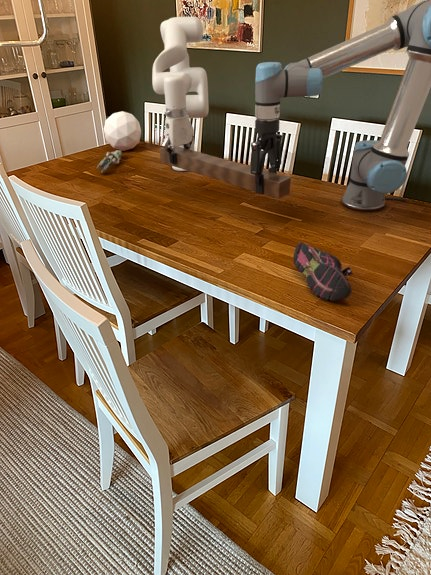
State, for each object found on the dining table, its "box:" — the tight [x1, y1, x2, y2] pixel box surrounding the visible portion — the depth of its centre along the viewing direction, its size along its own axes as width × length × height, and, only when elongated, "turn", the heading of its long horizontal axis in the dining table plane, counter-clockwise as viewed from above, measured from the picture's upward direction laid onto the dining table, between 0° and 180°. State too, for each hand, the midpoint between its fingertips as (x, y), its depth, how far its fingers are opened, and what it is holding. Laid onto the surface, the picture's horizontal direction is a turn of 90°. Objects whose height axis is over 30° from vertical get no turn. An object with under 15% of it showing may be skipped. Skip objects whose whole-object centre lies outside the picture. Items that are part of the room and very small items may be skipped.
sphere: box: [103, 110, 142, 152], centre depth 233 cm, size 19×20×20 cm
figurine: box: [96, 149, 123, 174], centre depth 213 cm, size 7×8×30 cm
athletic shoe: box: [292, 242, 355, 301], centre depth 117 cm, size 11×22×12 cm
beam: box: [159, 146, 292, 200], centre depth 159 cm, size 57×6×6 cm, turn 47°
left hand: (180, 160), depth 172 cm, fingers closed on beam, 6 cm apart
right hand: (265, 190), depth 149 cm, fingers closed on beam, 6 cm apart
